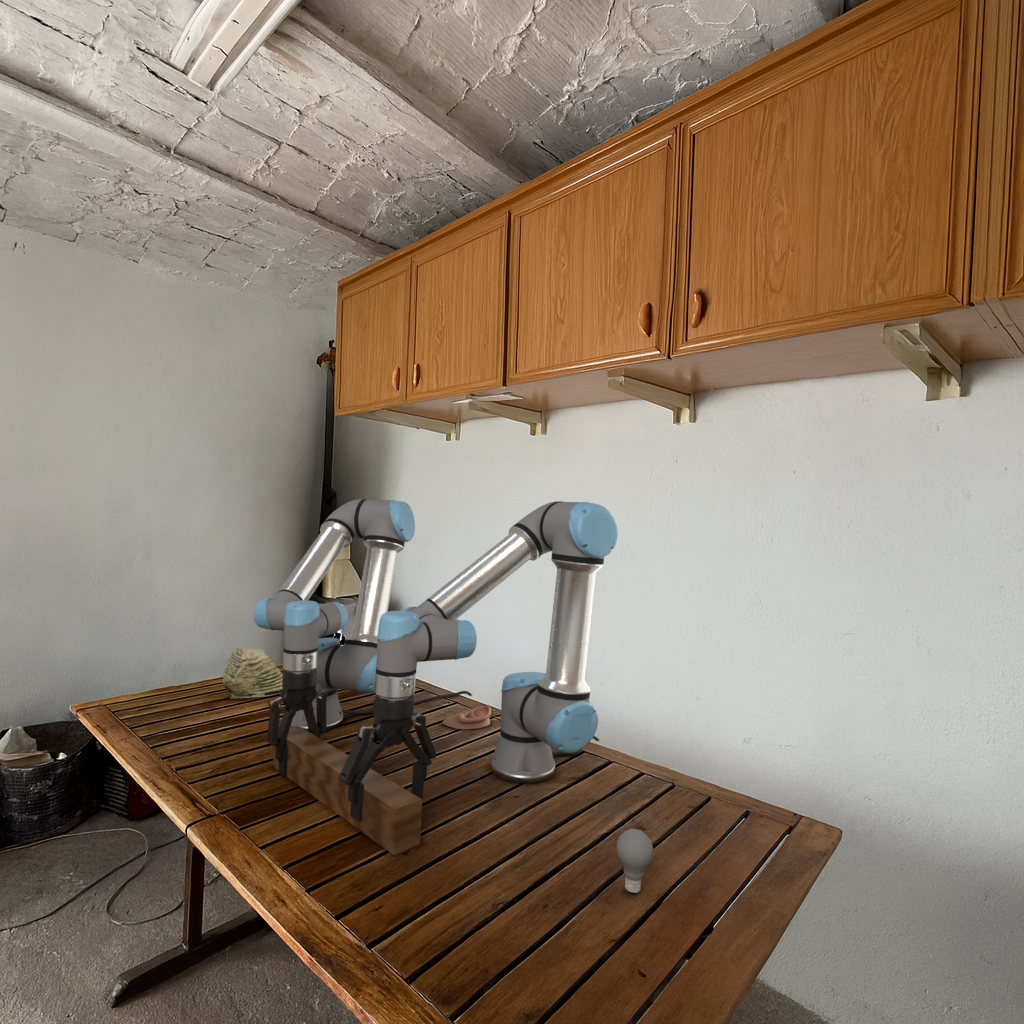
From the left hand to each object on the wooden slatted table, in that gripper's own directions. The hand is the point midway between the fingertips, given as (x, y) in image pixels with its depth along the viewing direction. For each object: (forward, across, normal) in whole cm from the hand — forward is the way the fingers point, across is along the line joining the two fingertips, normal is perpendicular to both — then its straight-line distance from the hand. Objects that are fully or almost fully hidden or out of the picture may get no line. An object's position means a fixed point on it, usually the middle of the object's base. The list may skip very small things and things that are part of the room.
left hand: (296, 769), depth 145 cm
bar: (0, 0, -19) cm, 19 cm away
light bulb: (0, +21, -78) cm, 80 cm away
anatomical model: (0, +51, -1) cm, 51 cm away
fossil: (0, +16, +59) cm, 61 cm away
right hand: (-5, 0, -37) cm, 37 cm away
